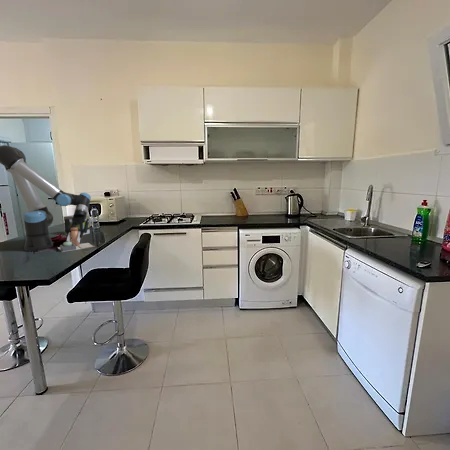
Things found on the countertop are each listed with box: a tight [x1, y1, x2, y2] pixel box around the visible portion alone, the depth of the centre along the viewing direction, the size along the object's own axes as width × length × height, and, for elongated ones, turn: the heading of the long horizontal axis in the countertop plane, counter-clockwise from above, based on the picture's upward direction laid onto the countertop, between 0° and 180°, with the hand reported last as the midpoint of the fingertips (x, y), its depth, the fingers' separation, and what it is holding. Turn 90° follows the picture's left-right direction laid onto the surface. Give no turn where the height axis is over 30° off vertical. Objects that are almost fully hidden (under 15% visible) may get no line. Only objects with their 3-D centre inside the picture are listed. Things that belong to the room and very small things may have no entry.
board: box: [57, 242, 96, 253], centre depth 168 cm, size 18×14×1 cm
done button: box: [62, 240, 72, 247], centre depth 162 cm, size 4×4×3 cm
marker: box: [70, 227, 80, 246], centre depth 171 cm, size 4×4×12 cm
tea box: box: [63, 214, 91, 236], centre depth 211 cm, size 15×10×15 cm, turn 74°
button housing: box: [59, 243, 77, 253], centre depth 162 cm, size 7×7×3 cm
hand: (73, 241), depth 168 cm, fingers open, 5 cm apart
